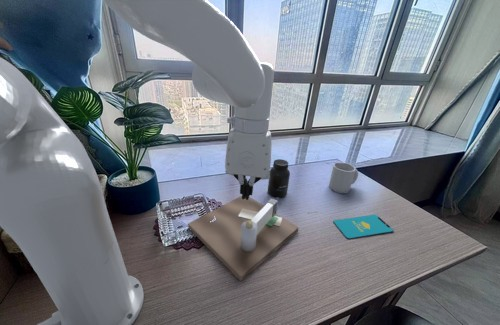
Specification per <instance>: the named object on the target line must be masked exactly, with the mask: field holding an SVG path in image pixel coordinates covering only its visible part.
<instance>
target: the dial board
mask: <svg viewBox="0 0 500 325" xmlns="http://www.w3.org/2000/svg"><path fill="white" fill-rule="evenodd" d="M245 198H246V197H245ZM264 206H265V205H264V204H262V203H261V202H260V201H257V200H256V199H253V198H252V197H250V196H249V199H248V200H246V199H242V195H240V196H238V197H236V198H234V199H233V200H231V201H229V202H227V203H225V204H223V205H221V206H218V207H217V208H216V209H214V210H211V211H209V212H208V213H206V214H204V215H201V216H200V217H198V218H196V219H194V220H193V221H190V222H188V223H187V228H188V227H189V228H190V229H191V230H192V231H193V232H192V231H191V230H190V229H189V228H188V229H189V230H190V231H191V232H192V233H193V234H194V235H195V237H197V238H198V240H199V241H200V242H202V243H203V244H204V246H206V248H207V249H209V251H210V252H211V253H213V255H214V256H215V257H216V258H217V259H218V260H219V261H220V262H221V263H222V264H223V265H224V266H225V267H226V268H227V269H228V270H229V271H230V272H231V273H232V274H233V275H234V276H235V278H237V279H238V280H239V281H240V282H242V281H243V280H244V279H246V278H247V276H249V274H251V273H252V272H253V271H254V270H256V269H257V268H258V267H259V266H260V265H261V264H262V263H263V262H264V261H266V260H267V259H268V258H269V257H271V255H273V254H274V253H275V252H276V251H277V250H278V249H279V248H281V247H282V246H283V245H284V244H285V243H286V242H288V241H289V239H291V238H292V237H294V236H295V235H296V234H297V233H298V231H299V226H297V225H295V224H294V223H292V222H291V221H289V220H287V219H286V218H285V217H283V216H281V215H280V214H278V213H276V214H275V215H274V217H272V218H271V219H270V220H269V221H268V222H267V224H266V225H265V226H264V227H263V228H262V229H261V231H260V232H259V233H258V234H257V237H256V248H255V249H254V250H253V251H251V252H246V251H244V250H242V248H241V225H242V223H243V222H245V221H248V220H250V221H251V220H252V219H253V218H254V217H255V216H256V215H257V213H258V212H259V211H260V210H261V209H262V208H263V207H264ZM214 216H215V217H216V221H215V222H211V223H210V221H212V220H213V219H214Z"/></svg>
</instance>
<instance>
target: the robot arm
mask: <svg viewBox="0 0 500 325" xmlns="http://www.w3.org/2000/svg"><path fill="white" fill-rule="evenodd" d="M102 1H103V3H104V4H106V5H107V6H108V7H109V8H110V9H111V10H112V11H113V12H114V13H115V14H116V15H117V16H118V17H119V18H120V19H121V20H122V21H123V22H125V23H126V24H127V26H129V27H130V28H132V29H133V30H134V31H136V32H138V33H140V34H141V35H142V36H144V37H146V38H147V39H150V40H152V41H153V42H156V43H159V44H161V45H163V46H165V47H167V48H169V49H172V50H174V51H175V52H177V53H178V54H180V55H182V56H184V57H185V58H187V59H188V60H189V61H190V62H192V63H194V67H193V69H192V72H191V73H192V74H191V82H192V85H193V87H194V89H195V90H196V92H197V93H198V94H200V96H202V97H203V98H205V99H208V100H210V101H213V102H217V103H222V104H225V105H228V106H232V107H233V109H234V110H233V111H234V112H233V113H234V114H233V116H228V117H227V120H226V122H227V124H231V126H232V128H230V130H229V132H228V137H227V142H226V149H225V151H226V152H225V161H224V162H225V163H224V169H225V174H227V175H230V176H233V177H234V178H235V179H236V180H237V181H238V183H239V185H240V187H239V194H240V195H241V196H242V199H246V200H248V199H249V197H250V196H253V193H254V192H253V191H254V185H255V184H257V183H258V182H259V181H261V180H262V181H263V180H269V178H270V169H271V163H272V148H273V147H272V134H271V133H272V132H271V131H270V130H269V127H270V126H269V125H270V116H271V107H272V104H271V103H272V96H273V88H274V80H275V79H274V78H275V68H274V66H273V65H272V64H271V63H268V62H265V61H264V62H263V61H260V60H259V58H258V56H257V55H256V53H255V51H254V50H253V48H252V47H251V46H250V44H249V42H248V40H247V39H246V38H245V36H244V35H243V33H242V32H241V31H240V29H239V28H238V27H237V26H236V25H235V24H234V22H233V21H232V20H230V18H228V16H226V15H225V13H223V12H222V11H220V9H219V8H217V7H215V5H214V4H212V3H211V2H209V1H208V0H102ZM247 177H249V179H248V178H247ZM245 197H246V198H245ZM105 200H106V199H105V196H104V193H103V189H102V186H101V182H100V179H99V177H98V174H97V172H96V169H95V167H94V165H93V162H92V160H91V158H90V156H89V155H88V152H87V150H86V148H85V146H84V144H83V143H82V142H81V141H80V140H79V138H78V136H76V134H75V133H74V132H73V131H72V130H71V128H70V127H69V126H68V124H66V123H65V122H64V120H63V119H62V118H61V116H59V114H58V113H57V112H56V111H55V110H54V108H53V107H52V106H51V105H50V103H49V102H48V101H47V99H45V97H44V96H43V95H42V94H41V93H40V92H39V90H38V89H37V88H36V87H35V85H33V83H32V82H31V81H30V80H29V79H28V78H27V77H26V76H25V74H23V73H22V72H21V71H20V70H19V69H18V68H17V67H16V66H15V65H13V64H12V63H10V62H9V61H7V60H6V59H4V58H3V57H0V228H1V229H2V230H3V231H4V232H5V233H6V234H7V235H9V237H10V238H11V239H12V241H14V242H15V244H16V245H17V246H18V247H19V249H20V250H21V251H22V253H23V255H24V256H25V258H26V259H27V261H28V262H29V264H30V266H31V267H32V268H33V271H34V272H35V273H36V274H37V276H38V278H39V280H40V282H41V283H42V285H43V286H44V288H45V290H46V291H47V293H48V294H49V297H50V298H51V300H52V301H53V303H54V305H55V306H56V308H57V311H55V312H53V313H52V314H51V316H50V317H49V318H47V319H45V320H44V321H42V322H39V323H37V324H36V325H132V324H134V322H135V320H136V319H137V317H138V316H139V315H140V312H141V310H142V307H143V303H144V296H145V293H144V289H143V286H142V283H141V282H140V281H139V279H138V278H136V277H134V276H132V275H129V274H128V271H127V268H126V264H125V262H124V258H123V256H122V251H121V249H120V245H119V243H118V240H117V237H116V234H115V231H114V228H113V224H112V221H111V219H110V215H109V212H108V209H107V203H106V201H105Z"/></svg>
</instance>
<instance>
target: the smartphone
mask: <svg viewBox="0 0 500 325" xmlns="http://www.w3.org/2000/svg"><path fill="white" fill-rule="evenodd" d="M333 224H334V225H335V227H336V228H337V229H338V230H339V231H340V233H341V234H342V235H343V236H344V237H345V238H346V239H347V240H353V239H359V238H360V239H361V238H367V237H373V236H378V235H385V234H392V233H394V229H393V228H392V227H391V226H390V225H389V224H388V223H387V222H385V221H384V220H383V219H382V218H381V217H379V216H378V215H377V214H370V215H363V216H356V217H349V218H342V219H340V218H339V219H334V220H333Z"/></svg>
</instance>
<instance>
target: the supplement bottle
mask: <svg viewBox="0 0 500 325" xmlns="http://www.w3.org/2000/svg"><path fill="white" fill-rule="evenodd" d="M290 178H291V172H290V169H289V162H288V161H287V160H285V159H274V160H273V164H272V167H270V178H269V179H268V184H267V193H268V195H269V196H271V197H273V198H277V199H283V198H285V197H286V196H287V195H288V189H289V184H290Z"/></svg>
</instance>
